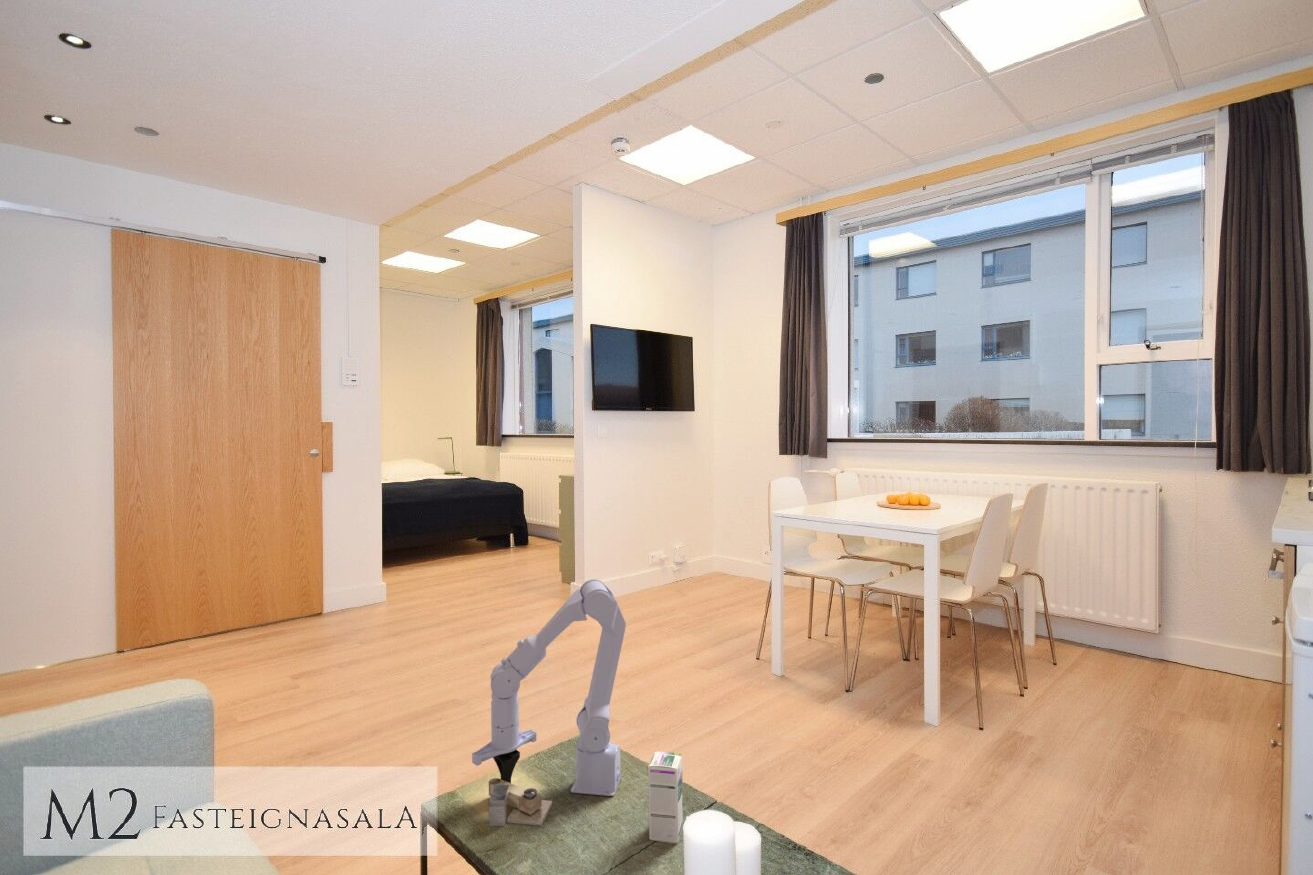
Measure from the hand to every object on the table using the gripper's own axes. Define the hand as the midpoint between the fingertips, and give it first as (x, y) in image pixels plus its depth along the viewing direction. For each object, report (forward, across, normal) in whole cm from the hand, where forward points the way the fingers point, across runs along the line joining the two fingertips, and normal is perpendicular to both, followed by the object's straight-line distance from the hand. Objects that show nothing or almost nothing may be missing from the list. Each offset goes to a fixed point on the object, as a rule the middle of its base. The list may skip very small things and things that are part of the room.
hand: (505, 785), depth 137 cm
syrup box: (+2, -15, +33) cm, 36 cm away
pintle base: (+2, 0, +9) cm, 9 cm away
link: (+1, +1, +4) cm, 5 cm away
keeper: (+2, +5, +6) cm, 8 cm away
